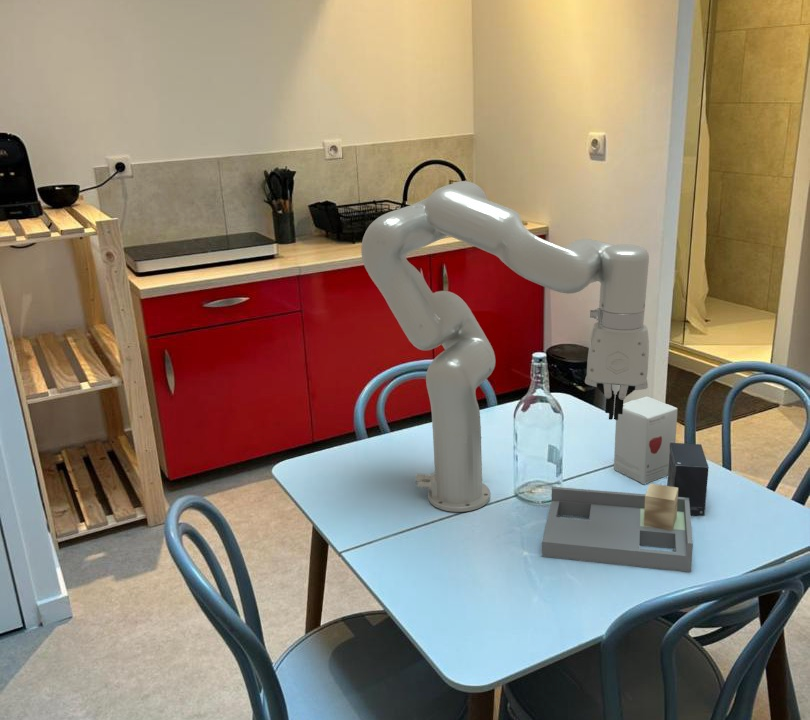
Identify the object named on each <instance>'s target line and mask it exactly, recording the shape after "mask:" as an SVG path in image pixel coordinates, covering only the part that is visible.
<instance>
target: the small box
mask: <svg viewBox="0 0 810 720" xmlns="http://www.w3.org/2000/svg"><path fill="white" fill-rule="evenodd" d="M708 478H709V465H708V461H707V458H706V454H705V452H704V448H703V446H702V444H701V443H700V444H698V443H684V442H683V443H681V442H675V443H670V454H669V468H668V475H667V482H666V486H670V487H677V488H678V497H685V498H689V504H690V516H705V511H706V503H707V502H706V500H707V491H708V490H707V489H708Z"/></svg>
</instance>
